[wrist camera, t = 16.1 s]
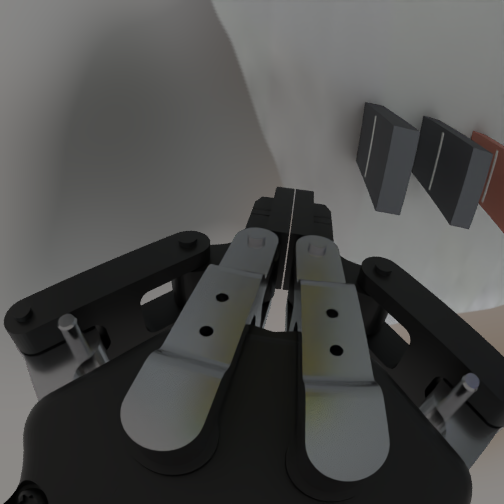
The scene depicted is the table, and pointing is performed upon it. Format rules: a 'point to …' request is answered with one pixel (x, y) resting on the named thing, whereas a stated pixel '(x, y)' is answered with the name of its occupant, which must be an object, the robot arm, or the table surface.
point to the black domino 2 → (451, 170)
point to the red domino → (493, 180)
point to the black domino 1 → (386, 157)
